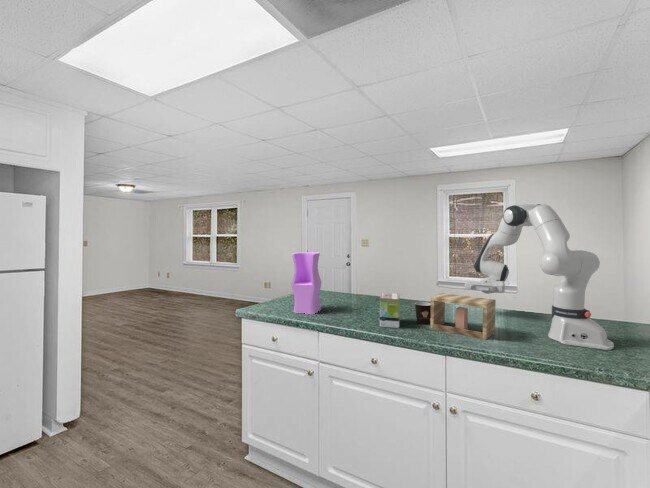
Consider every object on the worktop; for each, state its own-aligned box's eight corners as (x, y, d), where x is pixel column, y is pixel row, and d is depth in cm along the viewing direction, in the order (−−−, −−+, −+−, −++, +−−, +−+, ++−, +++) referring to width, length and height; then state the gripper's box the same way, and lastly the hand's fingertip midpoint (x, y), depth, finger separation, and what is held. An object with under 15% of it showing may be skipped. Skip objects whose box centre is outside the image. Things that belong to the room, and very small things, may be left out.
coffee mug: (413, 323, 171) (413, 304, 170) (416, 319, 178) (416, 301, 178) (436, 326, 165) (436, 306, 165) (439, 322, 173) (439, 303, 172)
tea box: (399, 328, 163) (400, 298, 162) (379, 327, 165) (379, 297, 164) (399, 320, 178) (399, 292, 177) (380, 319, 180) (380, 292, 179)
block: (467, 330, 159) (467, 307, 158) (464, 333, 155) (464, 309, 154) (459, 329, 161) (459, 306, 161) (455, 331, 158) (455, 308, 157)
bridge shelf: (495, 332, 156) (495, 299, 155) (486, 339, 145) (486, 304, 145) (441, 322, 173) (441, 293, 172) (430, 328, 162) (430, 297, 161)
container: (291, 313, 193) (291, 253, 192) (300, 308, 207) (299, 252, 205) (314, 314, 189) (313, 254, 188) (321, 309, 203) (321, 252, 201)
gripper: (468, 278, 196) (460, 281, 185) (507, 281, 182) (501, 284, 172) (468, 289, 196) (460, 292, 185) (507, 292, 182) (501, 296, 172)
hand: (480, 288), depth 178 cm, fingers open, 8 cm apart
